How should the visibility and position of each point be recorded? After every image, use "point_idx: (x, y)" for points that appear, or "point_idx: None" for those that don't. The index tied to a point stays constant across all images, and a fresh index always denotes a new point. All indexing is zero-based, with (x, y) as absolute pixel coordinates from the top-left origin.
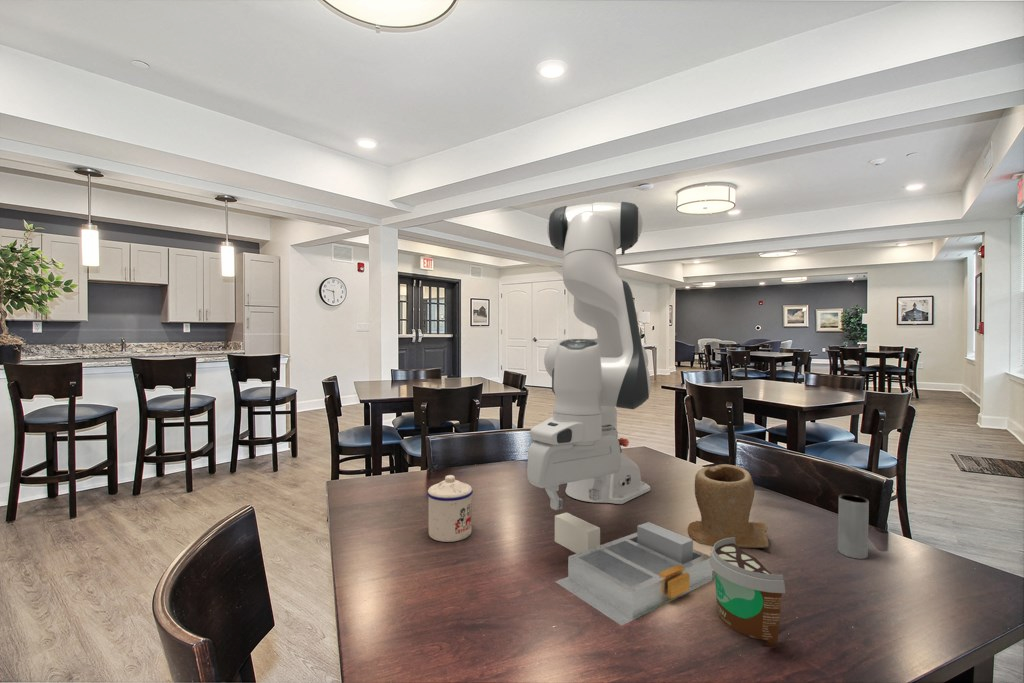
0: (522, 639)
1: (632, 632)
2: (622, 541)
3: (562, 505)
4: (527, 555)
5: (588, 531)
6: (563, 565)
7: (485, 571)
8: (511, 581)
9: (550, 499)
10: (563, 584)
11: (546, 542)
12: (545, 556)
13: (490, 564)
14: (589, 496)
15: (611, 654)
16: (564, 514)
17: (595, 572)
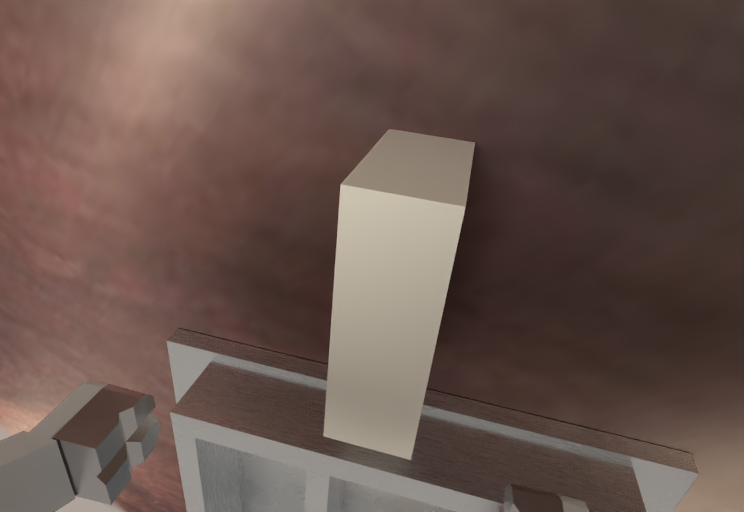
0: (20, 379)
1: None
2: (439, 504)
3: (139, 461)
4: (220, 102)
5: (329, 436)
6: (292, 269)
7: (10, 85)
8: (75, 209)
9: (43, 421)
10: (179, 364)
11: (392, 58)
12: (282, 169)
13: (42, 48)
14: (511, 497)
15: (147, 498)
16: (418, 219)
17: (186, 500)
